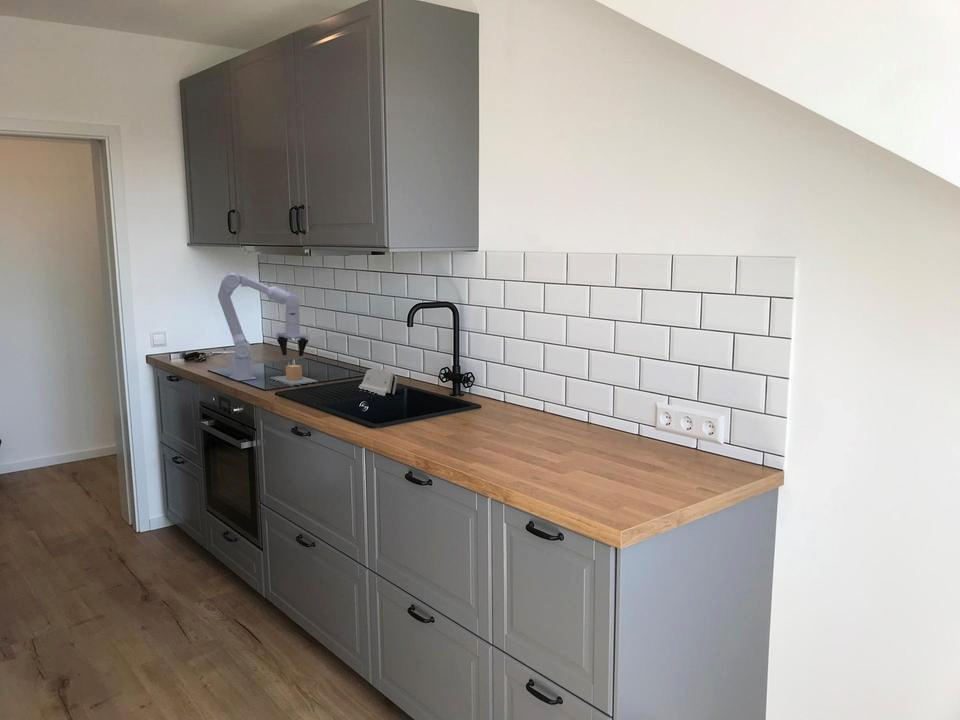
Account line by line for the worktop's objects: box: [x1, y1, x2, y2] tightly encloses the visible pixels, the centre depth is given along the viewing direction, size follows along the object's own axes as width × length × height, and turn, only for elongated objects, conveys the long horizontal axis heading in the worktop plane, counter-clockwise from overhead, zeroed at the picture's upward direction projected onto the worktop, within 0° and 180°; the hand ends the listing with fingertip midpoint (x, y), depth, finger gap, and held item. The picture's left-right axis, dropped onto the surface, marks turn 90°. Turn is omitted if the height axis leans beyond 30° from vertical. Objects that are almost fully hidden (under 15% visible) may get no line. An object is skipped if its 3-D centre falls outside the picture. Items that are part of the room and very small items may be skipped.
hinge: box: [358, 368, 398, 397], centre depth 310 cm, size 17×5×10 cm, turn 47°
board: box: [269, 375, 319, 387], centre depth 326 cm, size 18×12×4 cm, turn 42°
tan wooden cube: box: [285, 364, 303, 380], centre depth 326 cm, size 5×5×6 cm
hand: (292, 355), depth 333 cm, fingers open, 7 cm apart
